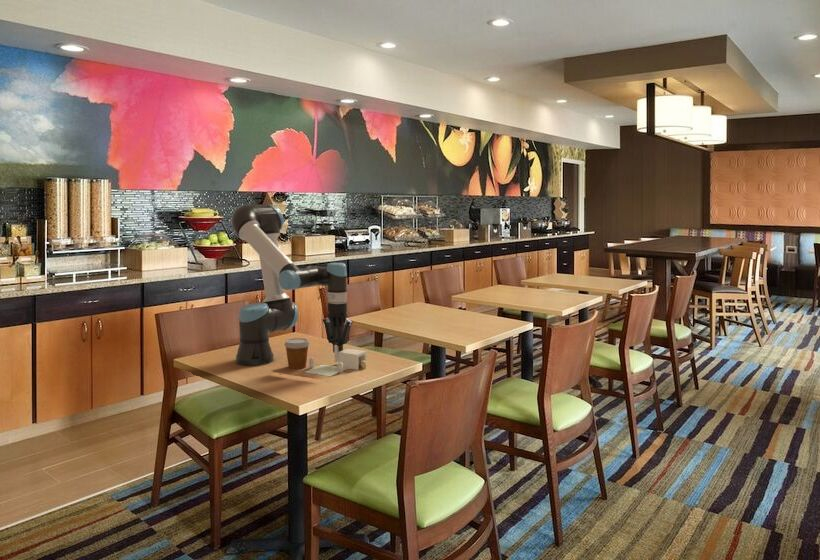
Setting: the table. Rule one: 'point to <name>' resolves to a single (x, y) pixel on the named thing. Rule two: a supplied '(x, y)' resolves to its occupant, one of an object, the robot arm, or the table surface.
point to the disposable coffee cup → (297, 352)
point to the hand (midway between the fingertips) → (338, 360)
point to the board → (329, 368)
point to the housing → (351, 358)
